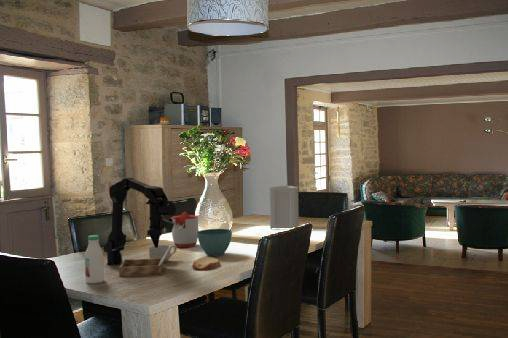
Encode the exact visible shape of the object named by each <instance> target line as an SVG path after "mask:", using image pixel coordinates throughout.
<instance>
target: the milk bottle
mask: <svg viewBox="0 0 508 338" xmlns="http://www.w3.org/2000/svg"><path fill="white" fill-rule="evenodd" d="M87 240H88V245H87V248H86V250H85V254H84V265H85V267H84V270H85V271H84V272H85V282H86V283H87V284H100V283H103V282H105V262H104V251H103V250H102V249H103V248H102V247H101V246H100V242H99V241H100V236H99V234H98V235H97V234H93V235H91V234H90V235H88V236H87Z"/></svg>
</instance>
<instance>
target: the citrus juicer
mask: <svg viewBox="0 0 508 338" xmlns="http://www.w3.org/2000/svg"><path fill="white" fill-rule="evenodd" d="M170 218H171V219H172V220H173V222H174V223H175V224H174V227H173V229H172V230H171V236H172V239H173V241H172V242H173V243H174V246H176V248H186V249H187V248H189V249H190V248H192V247H195V246H197V243H198V236H197V232H198V231H199V215H196V214H195V215H194V214H188V212H187V211H183V212H182V213H181V214H180V215H173V216H170Z"/></svg>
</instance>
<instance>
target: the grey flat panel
mask: <svg viewBox="0 0 508 338" xmlns="http://www.w3.org/2000/svg"><path fill="white" fill-rule="evenodd" d="M173 243H174V241H171V243H170V244H169V245H170V246H169V248H168V250H167V251H166V253H165V255H164V257H163V259H162V261H161V263H160V265H161V264H162V262H163V260H164V258H165V257H166V255H167V253H168V251H169V250H170V248H171V246H172V245H173ZM171 249H172V248H171ZM170 251H171V250H170ZM163 263H164V262H163Z"/></svg>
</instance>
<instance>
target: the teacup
mask: <svg viewBox="0 0 508 338" xmlns="http://www.w3.org/2000/svg"><path fill="white" fill-rule="evenodd" d="M169 246H170V244H158V248H155V246H154V245H151V246H149V247H148V255H149V256H148V257H149V259H156V258H163V257H164V255H165V253H166V251H167V250H168V248H169ZM172 248H173V249H174V250H173V251H171V250H172ZM176 252H177V247H176V246H175V244H174V245H173V244H172V245H171V248H170V250H169V251H168V253H167V255H166V257H165V258H164V260H163V263H166V262H168V261H169V260H170V258H171V257H172V256H173V255H174V254H175V253H176Z"/></svg>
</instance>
